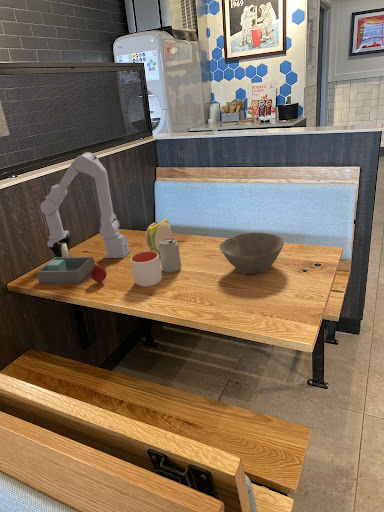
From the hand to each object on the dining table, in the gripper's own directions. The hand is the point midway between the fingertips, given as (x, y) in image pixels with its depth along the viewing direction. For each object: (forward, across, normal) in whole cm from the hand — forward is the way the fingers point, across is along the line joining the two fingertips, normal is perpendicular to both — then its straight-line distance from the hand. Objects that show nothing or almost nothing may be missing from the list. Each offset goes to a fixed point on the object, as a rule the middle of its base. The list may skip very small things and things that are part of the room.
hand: (63, 255), depth 173 cm
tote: (+2, +16, +11) cm, 19 cm away
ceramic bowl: (+2, +11, +84) cm, 85 cm away
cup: (+2, +21, +47) cm, 52 cm away
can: (+2, +11, +53) cm, 54 cm away
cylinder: (+2, 0, 0) cm, 2 cm away
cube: (+1, +16, +7) cm, 17 cm away
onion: (+2, +22, +28) cm, 36 cm away
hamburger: (+2, -9, +42) cm, 43 cm away
